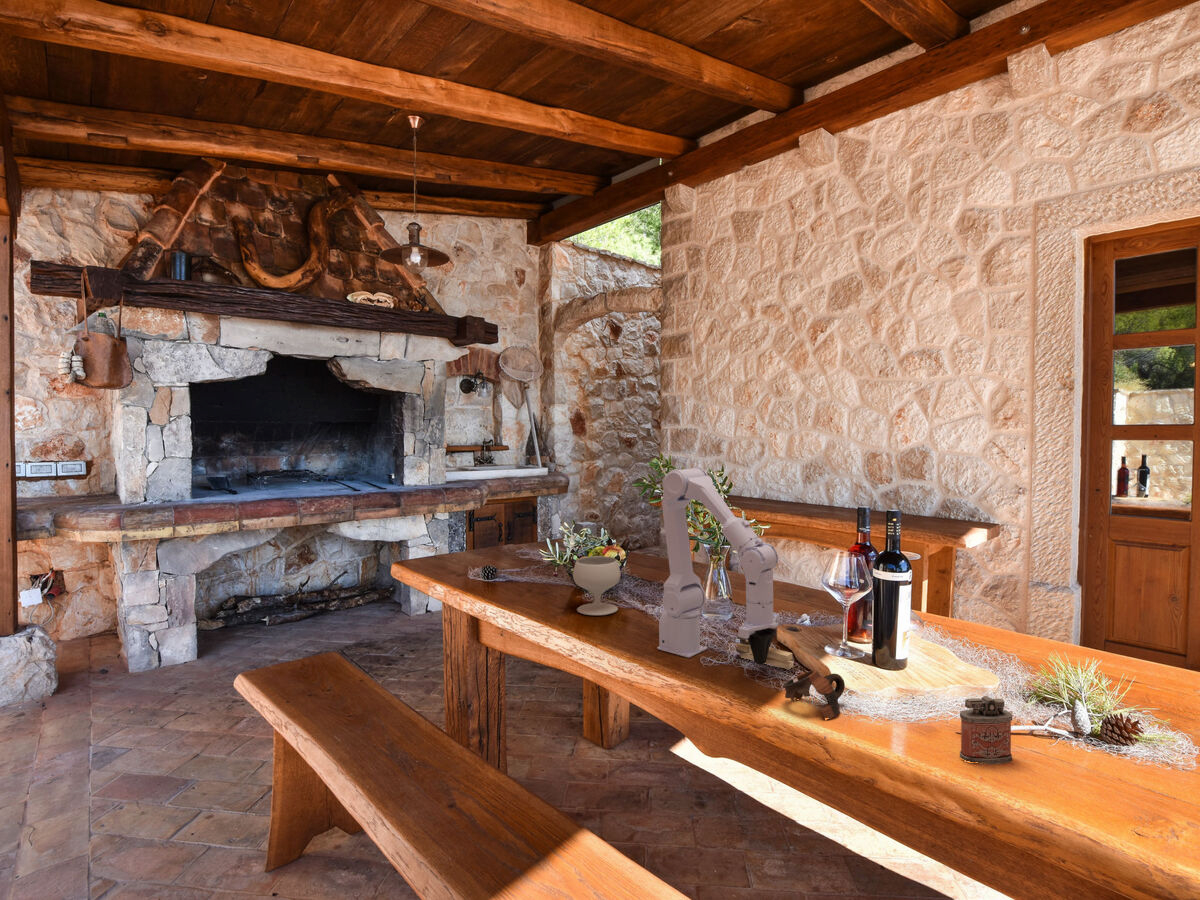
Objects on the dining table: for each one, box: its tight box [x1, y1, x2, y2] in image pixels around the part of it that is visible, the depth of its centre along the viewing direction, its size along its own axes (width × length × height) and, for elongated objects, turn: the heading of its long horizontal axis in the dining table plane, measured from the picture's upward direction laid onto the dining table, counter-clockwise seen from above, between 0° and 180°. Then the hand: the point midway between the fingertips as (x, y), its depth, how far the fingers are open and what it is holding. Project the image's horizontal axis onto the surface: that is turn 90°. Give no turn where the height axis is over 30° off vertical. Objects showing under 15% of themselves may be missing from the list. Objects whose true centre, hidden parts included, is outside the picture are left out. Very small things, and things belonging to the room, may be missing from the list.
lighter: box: [959, 695, 1013, 765], centre depth 105 cm, size 8×3×10 cm, turn 92°
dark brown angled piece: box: [783, 669, 846, 720], centre depth 125 cm, size 12×9×8 cm
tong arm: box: [736, 640, 793, 662], centre depth 147 cm, size 12×4×1 cm, turn 44°
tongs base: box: [735, 635, 795, 671], centre depth 148 cm, size 14×3×5 cm, turn 47°
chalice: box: [572, 555, 621, 616], centre depth 191 cm, size 14×14×15 cm
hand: (760, 662), depth 141 cm, fingers closed
